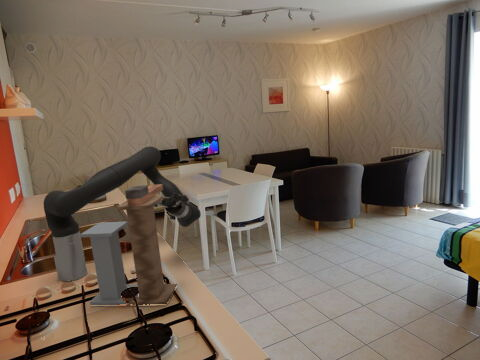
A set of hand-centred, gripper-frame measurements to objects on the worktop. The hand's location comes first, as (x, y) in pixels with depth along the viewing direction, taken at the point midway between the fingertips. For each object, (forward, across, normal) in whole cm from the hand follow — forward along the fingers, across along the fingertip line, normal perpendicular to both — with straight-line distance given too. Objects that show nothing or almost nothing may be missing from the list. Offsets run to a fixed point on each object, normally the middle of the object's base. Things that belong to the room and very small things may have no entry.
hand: (162, 195), depth 124 cm
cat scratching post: (+1, 0, +34) cm, 34 cm away
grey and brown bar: (+13, 0, +4) cm, 14 cm away
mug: (-113, -98, -32) cm, 153 cm away
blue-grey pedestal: (+1, -13, +34) cm, 37 cm away
